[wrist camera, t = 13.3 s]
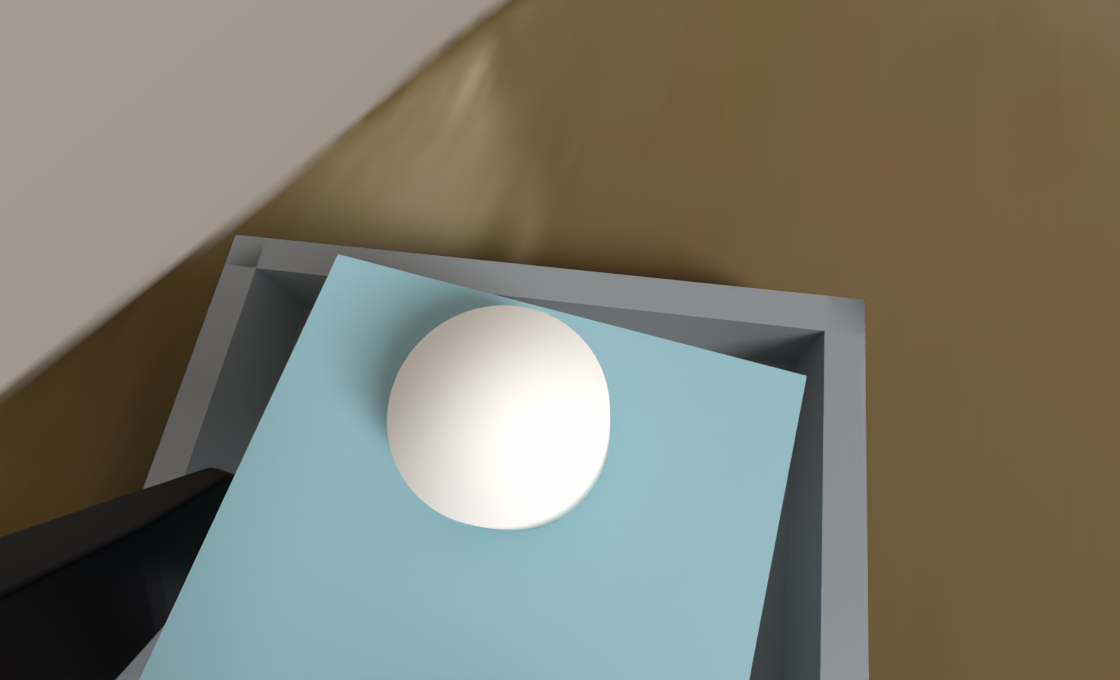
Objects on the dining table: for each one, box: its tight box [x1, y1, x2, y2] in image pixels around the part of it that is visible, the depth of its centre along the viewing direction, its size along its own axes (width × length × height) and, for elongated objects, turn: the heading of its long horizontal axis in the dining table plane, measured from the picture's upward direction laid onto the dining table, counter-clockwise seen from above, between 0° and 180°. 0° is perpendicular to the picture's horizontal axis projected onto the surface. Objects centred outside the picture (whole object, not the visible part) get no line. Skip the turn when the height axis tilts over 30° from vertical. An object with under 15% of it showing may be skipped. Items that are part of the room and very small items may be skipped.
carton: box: [139, 254, 807, 680], centre depth 11 cm, size 5×5×14 cm
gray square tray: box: [116, 235, 869, 680], centre depth 16 cm, size 17×18×4 cm
